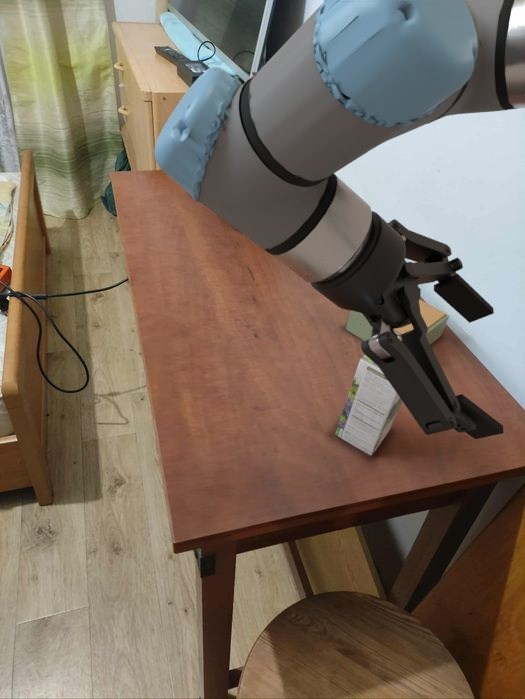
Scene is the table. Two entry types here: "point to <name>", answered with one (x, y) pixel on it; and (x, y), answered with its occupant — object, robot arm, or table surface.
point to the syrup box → (368, 408)
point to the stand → (429, 313)
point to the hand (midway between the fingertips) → (485, 369)
